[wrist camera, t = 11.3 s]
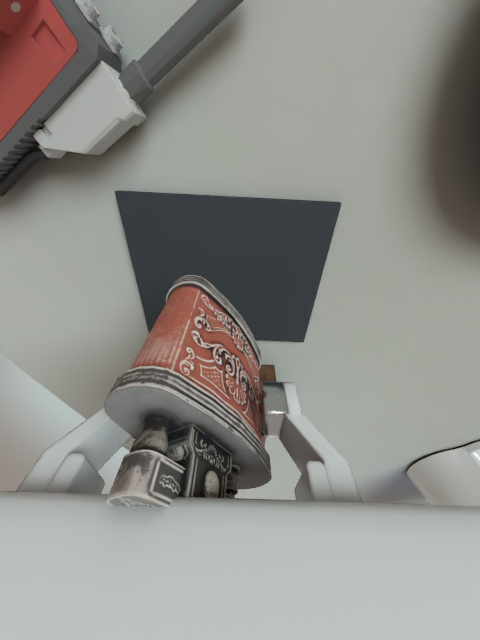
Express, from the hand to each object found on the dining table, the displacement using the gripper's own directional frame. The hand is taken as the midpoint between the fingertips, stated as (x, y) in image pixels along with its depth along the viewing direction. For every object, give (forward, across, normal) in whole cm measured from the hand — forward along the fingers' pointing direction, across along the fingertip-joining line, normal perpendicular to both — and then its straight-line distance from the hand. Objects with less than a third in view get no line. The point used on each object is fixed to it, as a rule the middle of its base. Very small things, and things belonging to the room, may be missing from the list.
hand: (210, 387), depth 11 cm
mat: (+12, 0, 0) cm, 12 cm away
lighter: (+5, 0, 0) cm, 5 cm away
